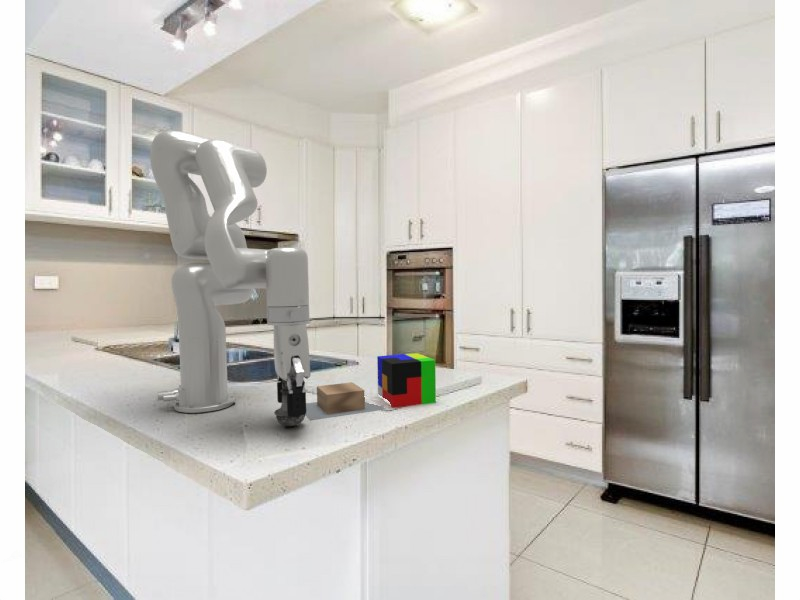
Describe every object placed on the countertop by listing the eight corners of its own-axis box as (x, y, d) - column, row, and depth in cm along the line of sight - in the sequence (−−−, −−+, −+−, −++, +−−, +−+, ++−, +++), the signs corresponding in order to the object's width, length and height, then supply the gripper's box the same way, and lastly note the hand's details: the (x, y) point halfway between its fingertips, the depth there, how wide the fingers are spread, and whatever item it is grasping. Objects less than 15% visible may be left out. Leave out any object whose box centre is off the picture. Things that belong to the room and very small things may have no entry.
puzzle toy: (378, 399, 104) (377, 356, 103) (417, 394, 107) (417, 353, 107) (392, 410, 95) (391, 363, 94) (435, 405, 98) (435, 360, 98)
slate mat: (309, 423, 87) (309, 420, 87) (296, 407, 98) (296, 404, 98) (386, 411, 94) (386, 409, 94) (365, 398, 104) (365, 395, 104)
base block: (327, 414, 90) (326, 394, 90) (317, 404, 98) (316, 386, 97) (364, 409, 94) (364, 390, 93) (352, 399, 101) (351, 382, 101)
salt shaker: (270, 428, 84) (268, 365, 83) (299, 422, 87) (298, 361, 87) (281, 437, 79) (279, 370, 79) (312, 430, 83) (311, 366, 82)
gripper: (320, 318, 76) (323, 418, 77) (298, 312, 92) (301, 395, 92) (275, 320, 73) (278, 424, 74) (260, 313, 89) (263, 399, 89)
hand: (291, 408), depth 83 cm, fingers open, 9 cm apart
